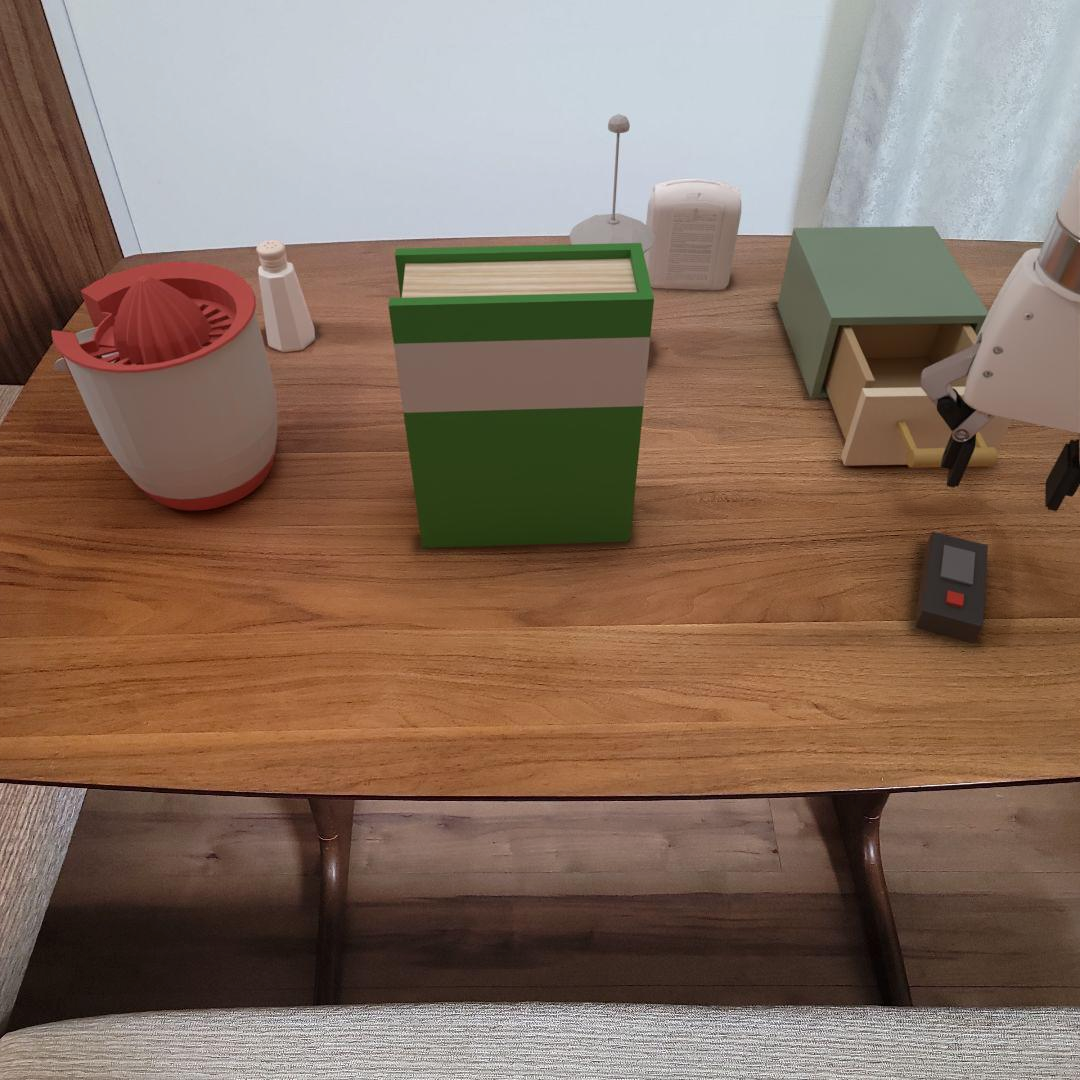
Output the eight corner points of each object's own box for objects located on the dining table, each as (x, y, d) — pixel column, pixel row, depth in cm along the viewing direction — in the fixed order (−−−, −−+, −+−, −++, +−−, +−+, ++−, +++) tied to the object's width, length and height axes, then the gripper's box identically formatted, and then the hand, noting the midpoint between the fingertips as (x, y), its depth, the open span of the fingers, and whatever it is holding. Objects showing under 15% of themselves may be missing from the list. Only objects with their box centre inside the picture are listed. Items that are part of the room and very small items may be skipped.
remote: (922, 552, 78) (933, 528, 76) (977, 566, 77) (989, 542, 75) (912, 631, 73) (923, 607, 71) (971, 647, 72) (984, 623, 69)
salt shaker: (325, 342, 100) (306, 248, 92) (278, 359, 98) (254, 265, 90) (304, 319, 103) (284, 226, 95) (258, 334, 101) (233, 241, 93)
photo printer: (727, 275, 109) (744, 172, 100) (730, 295, 106) (747, 191, 97) (640, 272, 110) (648, 170, 101) (640, 292, 107) (649, 188, 98)
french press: (630, 323, 102) (649, 87, 84) (673, 383, 95) (704, 139, 76) (546, 339, 100) (547, 100, 82) (583, 403, 92) (593, 155, 74)
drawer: (1013, 504, 81) (1049, 435, 75) (859, 507, 81) (883, 437, 75) (937, 362, 95) (962, 294, 90) (806, 364, 95) (823, 296, 90)
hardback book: (422, 551, 79) (388, 305, 61) (426, 491, 84) (395, 248, 66) (629, 545, 79) (654, 299, 62) (620, 485, 84) (641, 242, 67)
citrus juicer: (139, 413, 92) (63, 224, 77) (312, 419, 91) (269, 229, 76) (75, 526, 81) (-27, 330, 66) (271, 533, 80) (212, 338, 66)
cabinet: (956, 399, 93) (990, 315, 86) (809, 401, 93) (831, 317, 85) (907, 307, 104) (933, 225, 97) (776, 308, 104) (793, 227, 97)
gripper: (1273, 251, 53) (1129, 481, 66) (960, 201, 57) (882, 427, 71) (1296, 320, 48) (1136, 553, 61) (951, 260, 53) (870, 490, 66)
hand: (1001, 484), depth 66 cm, fingers open, 6 cm apart
